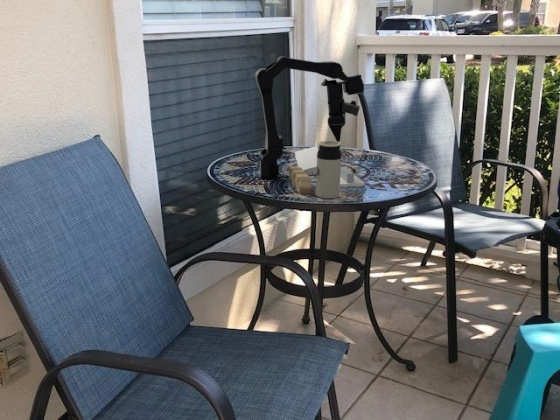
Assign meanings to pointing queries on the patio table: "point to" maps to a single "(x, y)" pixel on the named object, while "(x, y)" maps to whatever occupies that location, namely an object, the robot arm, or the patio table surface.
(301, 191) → the oak bar
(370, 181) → the patio table surface
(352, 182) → the fulcrum stand
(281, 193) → the patio table surface
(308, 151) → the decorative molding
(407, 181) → the patio table surface
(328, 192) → the travel mug
